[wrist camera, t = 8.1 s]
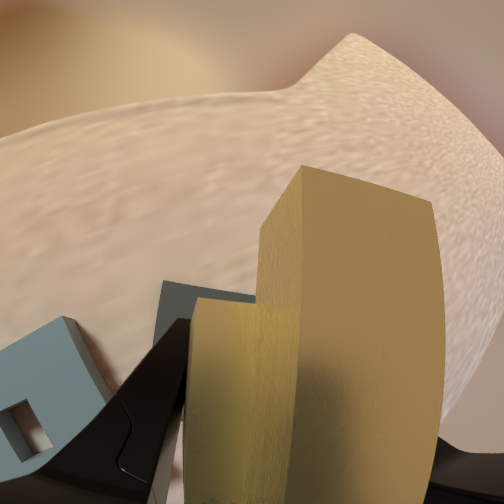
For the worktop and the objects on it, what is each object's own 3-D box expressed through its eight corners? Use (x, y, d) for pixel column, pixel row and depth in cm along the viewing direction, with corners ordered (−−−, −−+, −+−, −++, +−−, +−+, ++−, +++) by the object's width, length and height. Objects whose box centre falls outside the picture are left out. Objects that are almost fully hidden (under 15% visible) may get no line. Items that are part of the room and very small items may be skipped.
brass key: (239, 412, 14) (426, 570, 1) (181, 408, 13) (194, 628, 1) (246, 321, 16) (466, 215, 3) (189, 314, 15) (223, 150, 2)
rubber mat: (278, 426, 20) (280, 427, 20) (145, 412, 18) (145, 413, 18) (292, 302, 23) (293, 301, 23) (163, 281, 21) (163, 280, 21)
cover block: (154, 457, 17) (152, 470, 15) (21, 502, 12) (10, 512, 9) (74, 319, 19) (61, 315, 17) (-43, 385, 13) (-59, 386, 11)
